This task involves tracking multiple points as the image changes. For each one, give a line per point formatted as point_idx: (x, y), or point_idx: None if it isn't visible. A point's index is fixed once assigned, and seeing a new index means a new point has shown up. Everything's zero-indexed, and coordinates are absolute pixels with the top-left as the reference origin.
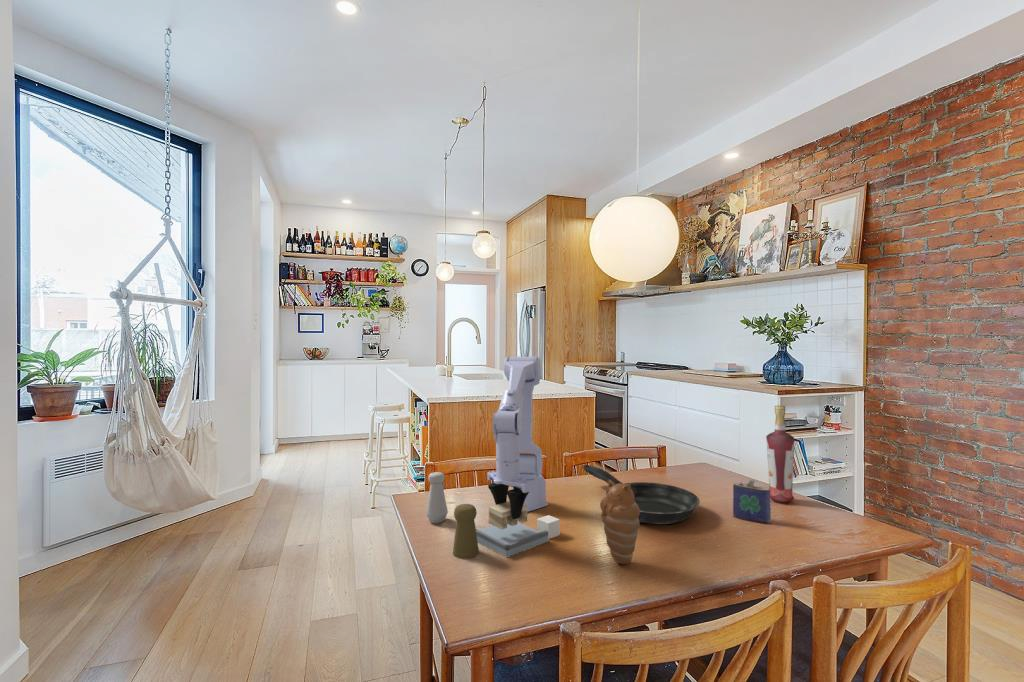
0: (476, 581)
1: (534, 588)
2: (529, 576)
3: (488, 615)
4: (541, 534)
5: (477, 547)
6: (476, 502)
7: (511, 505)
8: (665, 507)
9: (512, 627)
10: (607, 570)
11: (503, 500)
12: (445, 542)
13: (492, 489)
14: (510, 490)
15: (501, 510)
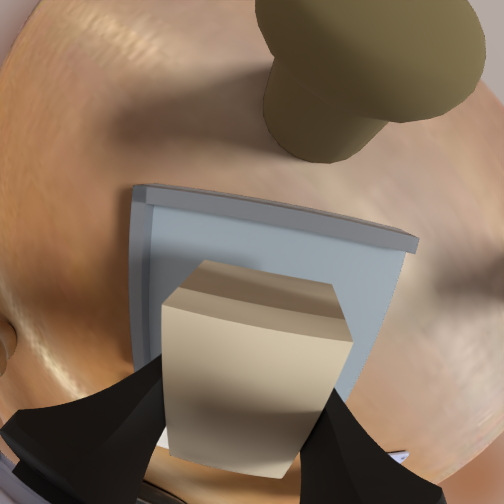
0: (135, 20)
1: (24, 122)
2: (48, 149)
3: (56, 5)
4: (135, 362)
5: (271, 124)
6: (481, 413)
7: (127, 395)
8: (142, 502)
9: (21, 29)
10: (3, 292)
11: (308, 453)
12: (446, 143)
13: (381, 497)
14: (67, 489)
15: (202, 342)
